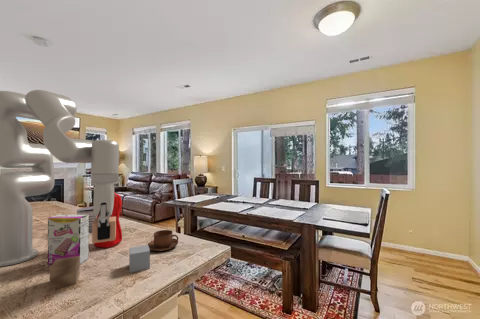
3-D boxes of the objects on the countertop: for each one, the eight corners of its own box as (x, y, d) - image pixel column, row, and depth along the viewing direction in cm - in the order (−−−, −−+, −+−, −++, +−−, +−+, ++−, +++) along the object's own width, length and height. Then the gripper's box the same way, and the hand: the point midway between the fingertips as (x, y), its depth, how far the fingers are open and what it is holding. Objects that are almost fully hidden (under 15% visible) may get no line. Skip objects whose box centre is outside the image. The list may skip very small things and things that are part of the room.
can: (83, 235, 105) (83, 210, 105) (72, 231, 111) (72, 207, 111) (108, 229, 114) (108, 206, 114) (96, 225, 120) (96, 203, 120)
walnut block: (49, 290, 61) (49, 268, 61) (55, 279, 67) (55, 259, 67) (76, 284, 64) (76, 263, 64) (79, 274, 69) (79, 255, 69)
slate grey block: (129, 273, 71) (129, 254, 71) (129, 265, 76) (129, 247, 76) (149, 268, 73) (149, 250, 73) (148, 261, 79) (148, 244, 79)
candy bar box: (46, 265, 75) (46, 217, 75) (58, 259, 80) (58, 214, 80) (79, 265, 75) (80, 217, 75) (89, 258, 80) (89, 213, 80)
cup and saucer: (176, 240, 99) (176, 227, 99) (179, 251, 88) (179, 235, 88) (148, 244, 95) (148, 230, 95) (147, 255, 84) (147, 239, 84)
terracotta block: (92, 243, 66) (92, 223, 66) (94, 236, 71) (94, 218, 71) (115, 240, 69) (115, 220, 69) (115, 234, 74) (116, 216, 74)
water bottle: (112, 249, 88) (113, 187, 88) (89, 247, 91) (90, 186, 91) (128, 241, 97) (129, 185, 97) (107, 239, 100) (107, 184, 100)
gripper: (94, 177, 76) (93, 229, 76) (86, 182, 61) (86, 247, 61) (119, 176, 79) (118, 226, 79) (117, 181, 64) (117, 243, 64)
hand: (104, 235), depth 70 cm, fingers closed on terracotta block, 6 cm apart
